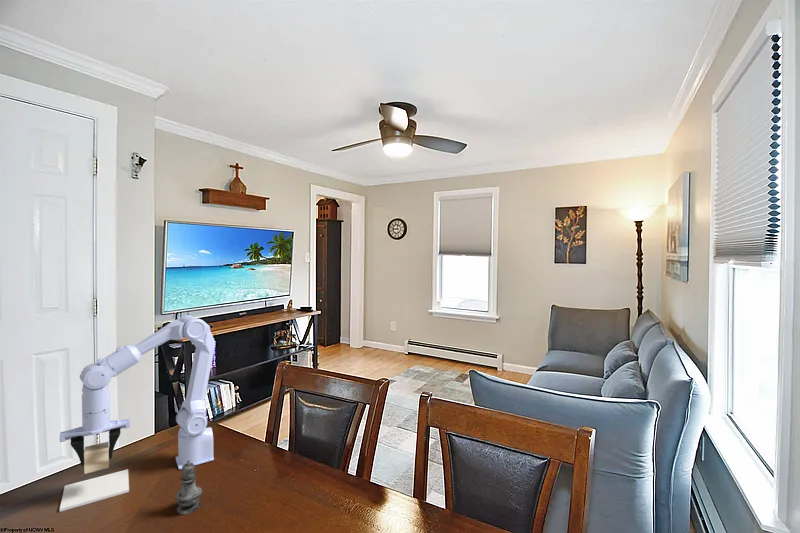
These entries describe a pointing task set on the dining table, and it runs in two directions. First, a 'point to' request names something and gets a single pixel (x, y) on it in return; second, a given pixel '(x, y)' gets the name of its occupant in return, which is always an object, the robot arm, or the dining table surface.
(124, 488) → the white mat
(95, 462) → the birch block
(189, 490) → the grey stone chess piece
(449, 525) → the dining table surface
